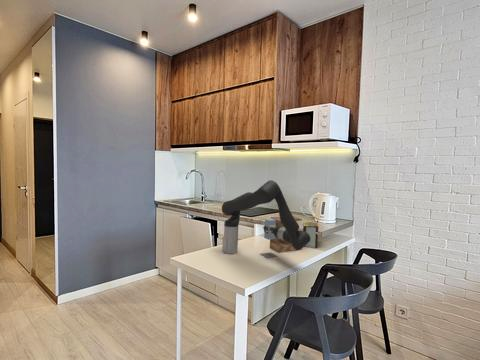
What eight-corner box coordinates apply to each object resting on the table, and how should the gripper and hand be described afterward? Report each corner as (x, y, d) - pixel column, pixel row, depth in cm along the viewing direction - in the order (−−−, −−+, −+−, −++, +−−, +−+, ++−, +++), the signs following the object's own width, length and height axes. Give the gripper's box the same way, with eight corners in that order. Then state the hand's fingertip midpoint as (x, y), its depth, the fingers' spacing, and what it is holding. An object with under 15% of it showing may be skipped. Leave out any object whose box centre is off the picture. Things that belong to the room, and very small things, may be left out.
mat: (266, 258, 172) (266, 257, 172) (260, 254, 179) (260, 253, 179) (277, 256, 175) (277, 256, 175) (270, 252, 182) (270, 252, 182)
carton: (268, 239, 173) (269, 220, 172) (264, 237, 177) (264, 219, 177) (275, 239, 175) (276, 220, 174) (270, 237, 180) (271, 218, 179)
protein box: (316, 242, 211) (317, 222, 211) (317, 248, 196) (318, 226, 196) (302, 241, 214) (303, 221, 213) (302, 247, 199) (303, 225, 198)
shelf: (278, 252, 183) (279, 220, 182) (269, 248, 193) (270, 217, 192) (300, 250, 191) (302, 218, 190) (290, 245, 201) (292, 216, 200)
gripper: (293, 226, 166) (277, 220, 181) (272, 227, 160) (258, 222, 175) (292, 238, 166) (276, 232, 182) (272, 240, 160) (257, 233, 175)
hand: (267, 227), depth 178 cm, fingers closed on carton, 5 cm apart
